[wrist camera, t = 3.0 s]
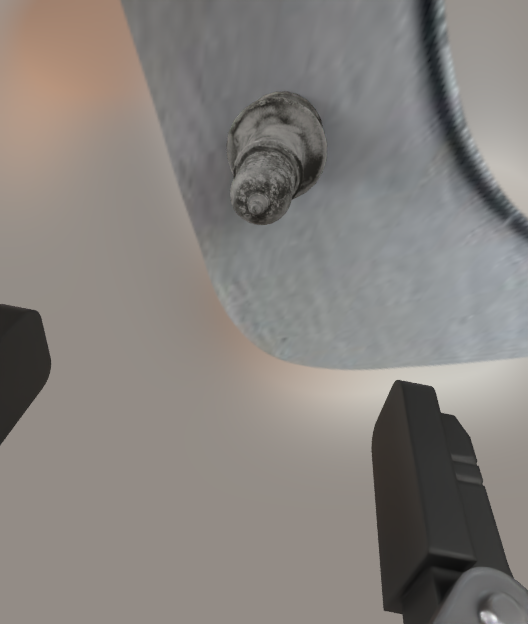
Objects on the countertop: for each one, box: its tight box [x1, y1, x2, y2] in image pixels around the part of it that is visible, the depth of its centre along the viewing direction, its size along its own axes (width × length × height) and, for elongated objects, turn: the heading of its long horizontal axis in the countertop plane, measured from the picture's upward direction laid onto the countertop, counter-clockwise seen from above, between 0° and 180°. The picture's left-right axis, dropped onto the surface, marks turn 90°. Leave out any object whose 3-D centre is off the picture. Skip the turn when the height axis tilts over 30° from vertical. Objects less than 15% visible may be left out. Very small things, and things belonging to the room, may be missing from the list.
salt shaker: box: [227, 92, 327, 225], centre depth 23 cm, size 6×6×12 cm
